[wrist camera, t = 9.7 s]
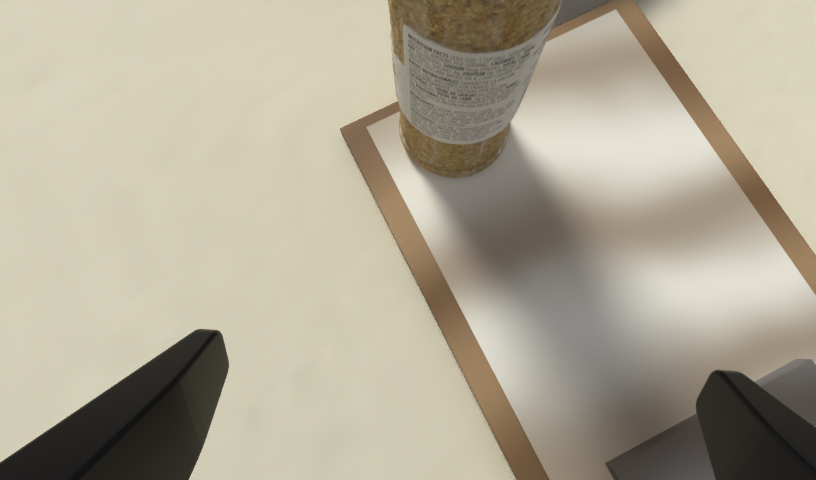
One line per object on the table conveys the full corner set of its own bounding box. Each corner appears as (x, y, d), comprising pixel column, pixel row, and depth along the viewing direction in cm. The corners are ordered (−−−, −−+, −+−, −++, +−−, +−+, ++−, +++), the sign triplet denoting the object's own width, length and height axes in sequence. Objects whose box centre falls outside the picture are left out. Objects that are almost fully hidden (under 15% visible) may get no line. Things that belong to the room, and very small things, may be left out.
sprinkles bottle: (421, 67, 20) (417, -450, 7) (523, 100, 20) (723, -388, 7) (381, 161, 19) (292, -228, 6) (487, 199, 19) (634, -139, 6)
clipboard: (886, 373, 18) (923, 375, 16) (556, 557, 17) (567, 575, 15) (623, 0, 21) (636, -21, 20) (341, 133, 20) (336, 119, 19)
